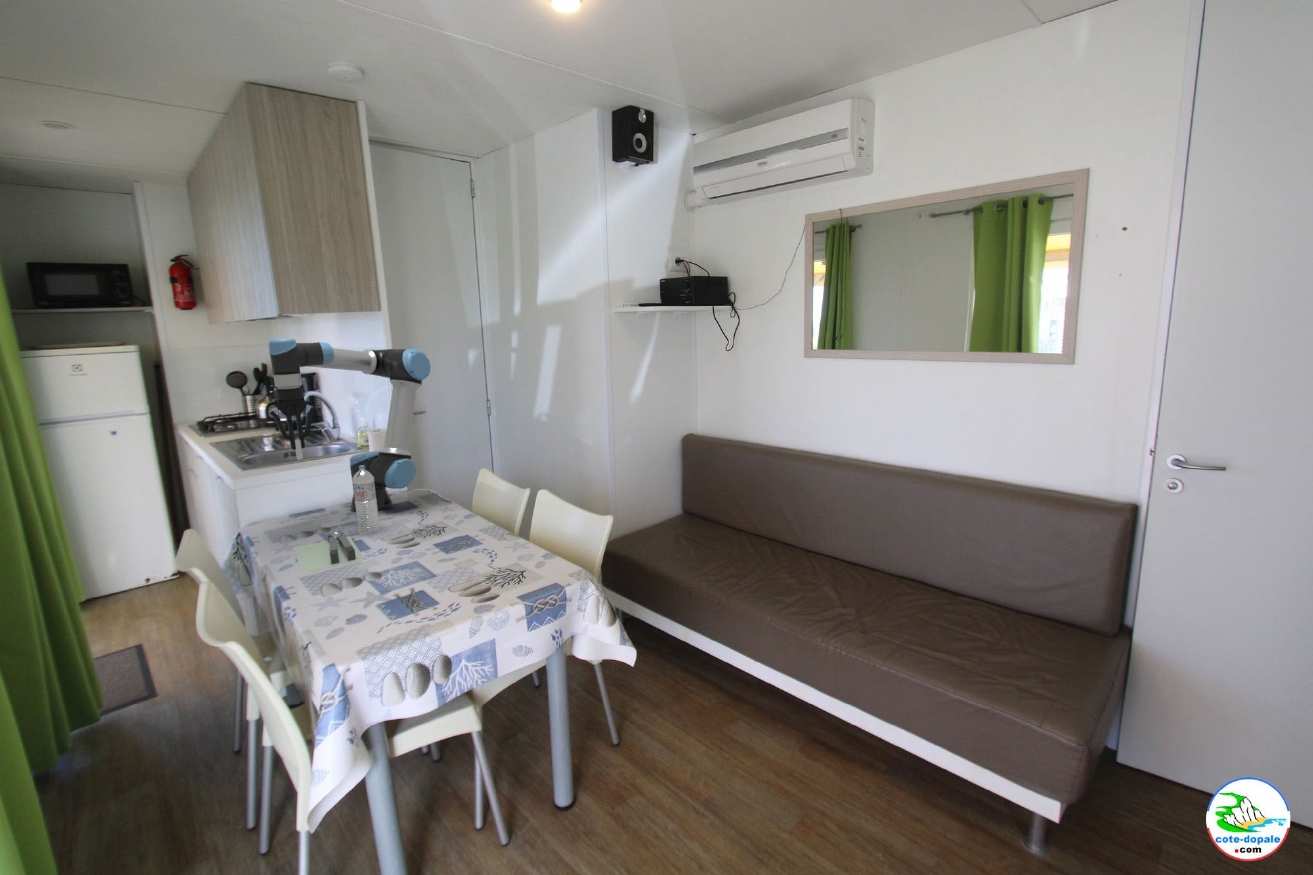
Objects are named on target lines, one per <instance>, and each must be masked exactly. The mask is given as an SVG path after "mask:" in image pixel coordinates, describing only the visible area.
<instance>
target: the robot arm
mask: <svg viewBox="0 0 1313 875" xmlns="http://www.w3.org/2000/svg"><path fill="white" fill-rule="evenodd" d="M268 350H269V352H268V353H269V357H270V363H271V369H272V373H273V382H274V387H275V388H276V389H275V394H276V395H275V396H276V400H277V401H276V405H275V408H273V409H271V410H269V414H270V415H271V416H272V417H273V418H274V420H275V422H276V425H277V427H278V429H279V431H280V433H281V436H282V438H283V439H284V440H288V441H289V443H290V448H291V449H292V450H293V451H294V450H295V454H296V455H295V456H296V459H297V460H298V461H299V460H304V456H303V450H302V449H305V448H306V444H305V438H307V437H310V435H311V427H312V421H313V420H312V419H313V414H314V412H315V410H316V407H314V406H312V405H310V404H308V403H307V401H306V400H305V394H304V388H303V387H302V385H303V381H302V374H301V368H303V367H308V368H320V369H332V370H345V371H355V372H357V371H358V372H361V373H362V374H364V375H370V376H376V377H382V378H387V379H389V382H390V384H391V385H392V390H391V392H392V393H391V396H390V397H391V399H390V406H389V411H388V419H387V426H386V433H385V439H384V446H383V447H382V448H381V449H380V450H374V451H373V450H372V451H367V452H362V453H358V454H354V455H352V456H351V457H350V459H349V470H350V475H351V482H352V484H353V481H352V479H353V477H354V475H355V474H356V473H357V472H358V471H359V470H360V469H359V466H361V465H364V466H365V470H367V471H369V472H370V473H371V474H372V475H373V476H374V484H375V493H376V498H377V507H378V512H380V511H389V510H391V509H392V508H393V507H394V505H393V500H392V499H391V496H390V494H389V492H388V490H387V489H388V488H389V489H391V490H392V489H393V490H396V489H397V490H400V489H405V488H407V487H408V486H410V484H411V483H412V482H413V481H414V479H415V477H416V475H417V474H416V473H417V467H416V465H415V463H414V461H413V460H412V454H411V452H410V451H409V445H410V440H411V439H410V438H411V433H412V432H411V431H412V426H413V418H414V410H415V404H416V398H417V397H416V396H417V390H418V389H419V388H421V387H422V385H423V380H425V379H427V378H428V377H429V375H430V372H431V363H430V360H429V358H428V356H427V354H426V353H424V352H423V351H422V350H420V349H414V348H390V349H389V348H388V349H387V348H386V349H364V350H363V351H360V350H352V349H344V348H343V349H342V348H334V347H332V345H331V344H330V343H329V342H322V341H317V342H297V340H296V339H295V338H294V337H291V338H290V337H289V338H286V337H285V338H283V337H282V338H271V339H270V340H269V341H268ZM304 410H305V411H306V416H305V417H306V418H305V427H304V430H303V423H302V416H301V415H302V414H303V412H304ZM280 413H282V414H283V415H284V416H285V418H286V424H287V430H288V434H287V432H286V430H285V427H284V425H283V422H282V421H281V419H280V417H279V414H280ZM293 416H295V421H296V423H295V424H296V428H297V434H298V438H296V437H295V433H294V425H293ZM352 489H353V492H354V486H353V485H352ZM352 495H353V496H352V499H351V502H350V503H351V504H350V512H352V513H356V505H355V495H354V493H352Z"/></svg>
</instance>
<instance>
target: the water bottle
mask: <svg viewBox="0 0 1313 875" xmlns="http://www.w3.org/2000/svg"><path fill="white" fill-rule="evenodd" d="M359 469H360V470H359V471H358V472H357V473H356V474H355V475H354V477H353V479H352V478H351V482H352V481H353V483H352V487H353V486H354V491H353V494H354V495H355V505H356V512H355V513H356V520H357V521H356V522H357V527H358V534H359V535H361V536H370V535H375V534H378V533H380V531H381V526H380V518H379V517H380V516H379V511H378V507H377V498H376V493H375V484H374V476H373V475H372V474H371V473H370V472H369V471H367V470H365V466H364V465H361V466H359Z"/></svg>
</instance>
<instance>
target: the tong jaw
mask: <svg viewBox="0 0 1313 875" xmlns="http://www.w3.org/2000/svg"><path fill="white" fill-rule="evenodd" d="M329 541H330V557H331V564H332V563H337V562H339V557H338V548H337V540H336V537H330V538H329Z"/></svg>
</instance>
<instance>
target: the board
mask: <svg viewBox="0 0 1313 875" xmlns="http://www.w3.org/2000/svg"><path fill="white" fill-rule="evenodd" d="M346 538H347V539H348V541H349V542H350V544H351V545H352V546H353V548H354V549H355V556H356V559H352V560H348V559H347V557H346V555H345V553H344V552H343V550H342V548H341V547H340V545H339V544H337V548H338V557H339V562H337V563H332V564H331V557H330V542H328V540H325V541H324V540H323V541H320V542H316V543H310V544H305V545H300V546H296V547H292V549H293V552H294V555H295V557H296V560H297V562H298V565H299V567H300V570H301V572H302V574H307V573H312V572H316V571H321V570H326V569H330V568H334V567H338V566H339V567H340V566H342V565H343V566H344V565H346V564H352V563H356V562H360V561H364V560H366V558H365V556H364V555H363V554H362V552H361V551H360V549H359V548H358V546H357V545H356V544H355V541H354V540H352V537H351V535H349V536H346Z"/></svg>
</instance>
